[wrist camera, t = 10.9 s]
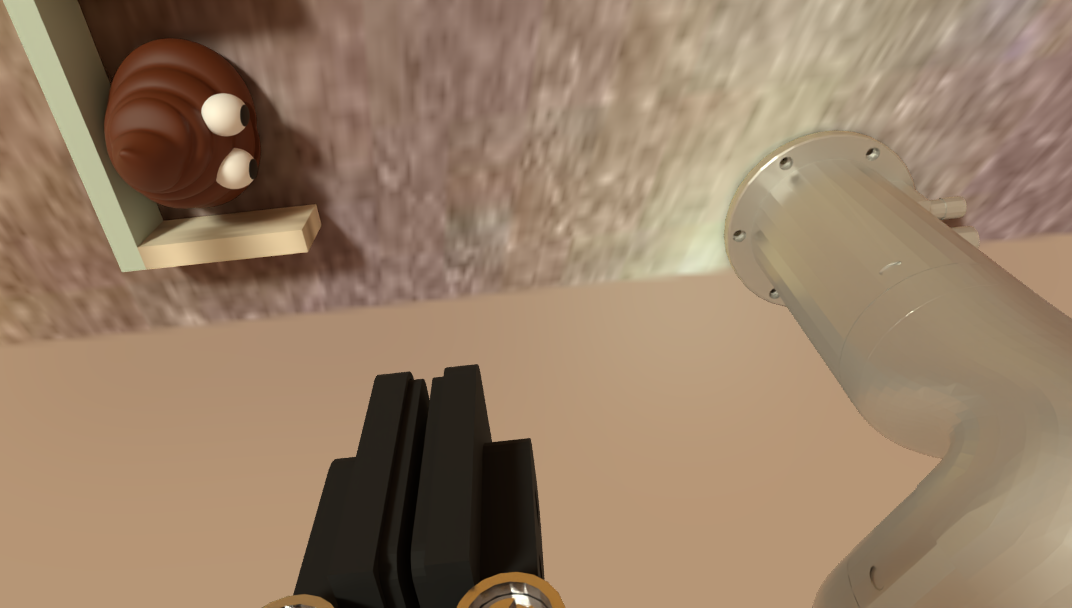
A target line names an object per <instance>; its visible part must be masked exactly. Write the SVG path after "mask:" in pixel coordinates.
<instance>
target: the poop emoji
mask: <svg viewBox="0 0 1072 608" xmlns="http://www.w3.org/2000/svg"><path fill="white" fill-rule="evenodd" d="M256 126H257V118H256V112H255V107H254V104H253V100H252V98H251V95H250V92H249V90H248V88H247V86H246V84H245V83H244V81H243V79H242V78H241V76H240V75H239V74H238V72H237V71H236V70H235V69H234V68H233V66H232V65H231V64H230V63H229V62H228V61H226V60H225V59H224V58H223V57H222V56H220V55H219V54H218V53H216V52H215V51H213V50H211V49H209V48H208V47H206V46H203V45H201V44H199V43H196V42H193V41H189V40H184V39H176V38H165V39H158V40H154V41H151V42H148V43H145V44H143V45H141V46H140V47H138V48H136V49H135V50H134V51H133V52H131V53H130V54H129V55H128V56H127V57H126V58H125V60H124V61H123V62H122V64H121V65H120V67H119V68H118V70H117V72H116V74H115V76H114V78H113V81H112V84H111V87H110V91H109V96H108V103H107V110H106V114H105V121H104V133H105V141H106V147H107V151H108V154H109V157H110V160H111V162H112V164H113V166H114V168H115V169H116V171H117V172H118V174H119V175H120V176H121V177H122V179H123V180H124V181H125V182H126V183H127V184H128V185H129V186H131V187H132V188H133V189H135V190H136V191H138V192H140V193H141V194H143V195H144V196H146V197H147V198H149V199H150V200H152V201H154V202H156V203H159V204H161V205H164V206H168V207H172V208H195V207H196V208H207V207H214V206H218V205H222V204H224V203H227V202H229V201H231V200H233V199H234V198H236V197H237V196H239V195H240V194H241V193H242V192H243V191H244V190H245V189H246V188H247V187H248V186H249V185H250V183H251V182H252V181H253V180H254V179H255V178H256V176H257V172H258V167H259V162H260V156H261V145H260V138H259V134H258V131H257V128H256Z"/></svg>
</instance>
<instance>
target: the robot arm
mask: <svg viewBox="0 0 1072 608" xmlns="http://www.w3.org/2000/svg"><path fill="white" fill-rule="evenodd" d="M869 149H870V150H869ZM868 150H869V152H867V151H868ZM783 158H785V160H784V161H783V162H780V161H781V160H782V159H783ZM965 213H966V202H965V200H964V198H963V197H961V196H956V197H947V198H939V199H938V200H928V199H927V198H926V197H924V196H923V195H921V194H920V193H919V192H917V191H916V190H915V186H914V181H913V178H912V176H911V174H910V172H909V170H908V168H907V166H906V165H905V163H904V162H903V161H902V160H901V158H900V157H899V156H898V155H897V154H896V153H895V152H894V151H892V150H891V149H890V148H888V147H887V146H886V145H884V144H883V143H881V142H879V141H877V140H876V139H874V138H872V137H870V136H867V135H863V134H860V133H857V132H851V131H839V130H834V131H825V132H817V133H813V134H810V135H806V136H803V137H800V138H797V139H795V140H793V141H791V142H789V143H787V144H785V145H782V146H780V147H779V148H778V149H776V150H775V151H773V152H772V153H770V154H769V155H768V156H766V157H765V158H763V159H762V160H761V161H760V162H759V163H758V164H757V165H756V166H755V167H754V168H753V169H752V170H751V171H750V172H749V174H748V175H747V176H746V178H745V179H744V180H743V182H742V183H741V184H740V186H739V187H738V189H737V191H736V193H735V195H734V197H733V199H732V201H731V203H730V206H729V209H728V213H727V216H726V219H725V230H724V240H725V248H726V253H727V256H728V259H729V261H730V264H731V266H732V268H733V269H734V271H735V273H736V274H737V276H738V278H739V279H740V280H741V281H742V282H743V284H744V285H745V286H746V287H747V288H748V289H749V290H750V291H752V292H753V293H755V294H756V295H757V296H758V297H760V298H762V299H764V300H766V301H768V302H771V303H774V304H778V305H782V306H786V307H787V308H788V309H789V311H790V312H791V313H792V315H793V316H794V318H795V319H796V321H797V322H798V324H799V325H800V326H801V328H802V329H803V331H804V332H805V334H806V335H807V337H808V338H809V340H810V341H811V343H812V344H813V346H814V347H815V349H816V350H817V352H818V353H819V354H820V356H821V357H822V359H823V360H824V362H825V363H826V365H827V366H828V368H829V369H830V371H831V372H832V373H833V375H834V376H835V378H836V379H837V381H838V382H839V384H840V385H841V387H842V388H843V390H844V391H845V393H846V394H847V395H848V397H849V399H850V400H851V402H852V403H853V404H854V406H855V407H856V409H857V410H858V412H859V413H860V414H861V415H862V417H863V418H864V419H865V420H866V421H867V422H868V423H869V424H870V425H871V426H872V427H873V428H874V429H875V430H876V431H878V432H879V433H880V434H881V435H883V436H884V437H886V438H887V439H889V440H891V441H893V442H894V443H896V444H898V445H900V446H902V447H905V448H907V449H910V450H913V451H916V452H919V453H922V454H925V455H928V456H932V457H936V458H941V459H942V461H941V462H940V463H939V464H938V465H937V466H936V467H935V468H934V469H933V470H932V471H931V472H930V473H929V474H928V475H927V476H926V477H925V478H924V479H923V480H922V481H921V482H920V483H919V485H917V488H916V489H915V490H914V491H913V492H912V493H911V494H910V495H909V496H908V497H907V498H906V499H905V500H904V501H903V502H902V503H900V504H899V505H898V506H897V507H896V508H895V509H894V510H893V511H892V512H891V513H890V514H889V515H888V516H887V517H886V518H885V519H884V520H883V521H882V522H881V523H880V524H879V525H878V526H876V527H875V528H874V529H873V530H872V531H871V532H870V533H869V534H868V535H867V536H866V537H865V538H864V539H863V540H862V541H861V542H860V543H859V544H858V545H857V546H856V547H855V548H854V549H853V550H852V551H851V552H850V553H849V554H848V555H847V556H846V557H845V558H844V559H843V560H842V561H841V562H840V563H839V564H838V565H837V566H836V567H835V569H834V570H833V571H832V572H831V573H830V574H829V575H828V576H827V578H826V579H825V581H824V582H823V584H822V585H821V587H820V588H819V590H818V592H817V594H816V597H815V600H814V604H813V607H812V608H1072V319H1071V318H1070V317H1069V316H1067V315H1065V314H1064V313H1063V312H1061V311H1060V310H1059V309H1057V308H1056V307H1054V306H1053V305H1052V304H1050V303H1049V302H1047V301H1046V300H1045V299H1043V298H1042V297H1040V296H1039V295H1038V294H1036V293H1035V292H1034V291H1033V290H1031V289H1030V288H1029V287H1027V286H1026V285H1024V284H1023V283H1022V282H1021V281H1019V280H1018V279H1017V278H1015V277H1014V276H1013V275H1011V274H1010V273H1009V272H1007V271H1006V270H1005V269H1003V268H1002V267H1001V266H1000V265H998V264H997V263H996V262H994V261H993V260H992V259H990V258H989V257H988V256H986V255H985V254H984V253H983V252H981V251H980V250H979V249H978V248H979V235H978V232H977V230H976V229H975V228H974V227H972V226H962V227H953V228H950V227H949V226H947V225H946V224H945V223H943V222H942V221H941V220H943V219H953V218H961V217H963V216H964V215H965ZM939 219H941V220H939ZM736 231H739V232H738V233H735V232H736ZM262 608H565V605H564V603H563V601H562V599H561V597H560V595H559V593H558V592H557V591H556V590H555V589H554V588H553V587H552V586H551V585H550V584H549V583H548V582H547V581H545V580H544V566H543V552H542V537H541V523H540V511H539V500H538V490H537V481H536V474H535V466H534V458H533V450H532V444H531V439H530V438H527V439H518V440H509V441H499V442H492V439H491V433H490V427H489V422H488V416H487V410H486V404H485V398H484V393H483V386H482V380H481V374H480V369H479V366H478V365H477V364H475V365H466V366H457V367H447V368H445V370H444V377H436V378H433V380H432V387H431V395H430V400H429V395H428V391H427V386H426V383H425V380H424V379H417V380H414V379H413V375H412V373H411V372H401V373H393V374H383V375H377V376H376V378H375V381H374V385H373V389H372V393H371V397H370V401H369V405H368V410H367V413H366V418H365V422H364V426H363V430H362V434H361V438H360V442H359V446H358V451H357V455H356V457H350V458H341V459H335V460H334V461H333V462H332V463H331V466H330V468H329V471H328V474H327V478H326V481H325V485H324V488H323V492H322V496H321V499H320V502H319V506H318V510H317V513H316V517H315V520H314V524H313V527H312V531H311V534H310V538H309V541H308V545H307V548H306V552H305V555H304V559H303V562H302V566H301V569H300V573H299V577H298V580H297V584H296V588H295V591H294V594H293V596H287V597H284V598H281V599H279V600H276V601H273V602H270V603H269V604H267V605H266V606H264V607H262Z"/></svg>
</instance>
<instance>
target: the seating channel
mask: <svg viewBox="0 0 1072 608" xmlns="http://www.w3.org/2000/svg"><path fill="white" fill-rule="evenodd" d="M3 2H4V4H5V6H6V8H7V11H8V13H9V15H10V18H11V20H12V22H13V24H14V27H15V29H16V31H17V34H18V36H19V38H20V40H21V43H22V45H23V47H24V50H25V52H26V54H27V56H28V59H29V61H30V63H31V65H32V68H33V70H34V72H35V75H36V77H37V79H38V81H39V84H40V86H41V88H42V91H43V93H44V95H45V97H46V100H47V102H48V104H49V107H50V109H51V111H52V113H53V116H54V118H55V120H56V122H57V125H58V127H59V129H60V132H61V134H62V136H63V138H64V141H65V143H66V145H67V148H68V150H69V152H70V154H71V157H72V159H73V161H74V164H75V166H76V168H77V170H78V173H79V175H80V177H81V179H82V182H83V184H84V186H85V189H86V191H87V193H88V195H89V198H90V200H91V202H92V205H93V207H94V209H95V211H96V214H97V216H98V218H99V221H100V223H101V225H102V227H103V230H104V232H105V234H106V237H107V239H108V241H109V243H110V246H111V248H112V250H113V252H114V255H115V257H116V259H117V262H118V264H119V266H120V268H121V271H122V272H128V271H137V270H147V269H156V268H165V267H174V266H184V265H193V264H202V263H211V262H221V261H230V260H239V259H248V258H258V257H267V256H276V255H285V254H295V253H304V252H308V251H309V249H310V247H311V245H312V243H313V241H314V239H315V237H316V235H317V233H318V231H319V230H320V228H321V226H322V225H321V221H320V217H319V213H318V210H317V206H316V204H313V205H304V206H294V207H285V208H276V209H267V210H258V211H248V212H239V213H230V214H221V215H211V216H202V217H193V218H184V219H175V220H165V221H163V218H162V216H161V213H160V211H159V208H158V205H157V203H156V202H154V201H152V200H150V199H149V198H147V197H146V196H144V195H143V194H141V193H140V192H138V191H136V190H135V189H133V188H132V187H131V186H129V185H128V184H127V183H126V182H125V181H124V180H123V179H122V177H121V176H120V175H119V174H118V172H117V171H116V169H115V168H114V166H113V164H112V162H111V160H110V157H109V154H108V151H107V147H106V141H105V133H104V121H105V114H106V110H107V103H108V96H109V91H110V87H111V85H110V82H109V80H108V77H107V75H106V72H105V69H104V67H103V64H102V62H101V59H100V57H99V54H98V51H97V49H96V46H95V44H94V41H93V39H92V36H91V33H90V31H89V28H88V26H87V23H86V21H85V18H84V15H83V13H82V10H81V8H80V5H79V3H78V0H3Z"/></svg>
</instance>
